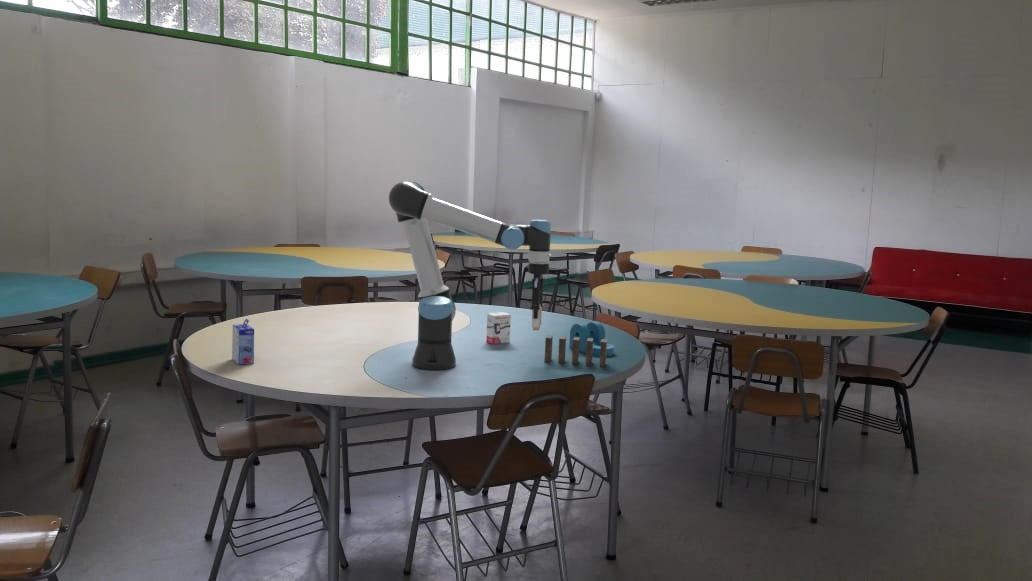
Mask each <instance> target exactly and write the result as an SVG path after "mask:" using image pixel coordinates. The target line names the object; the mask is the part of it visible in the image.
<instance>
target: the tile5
mask: <svg viewBox="0 0 1032 581" xmlns="http://www.w3.org/2000/svg"><path fill="white" fill-rule="evenodd" d="M592 354H593V338H588V339H587V349H586V353H585V366H592V364H593V355H592Z"/></svg>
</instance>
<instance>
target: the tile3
mask: <svg viewBox="0 0 1032 581" xmlns="http://www.w3.org/2000/svg"><path fill="white" fill-rule="evenodd" d="M566 342H567V336H566V335H565V336H564V335H560V336H559V341H558V356H557V357H558V358H557V363H558V364H565V361H566V348H567V347H566V346H567V345H566V344H567V343H566Z"/></svg>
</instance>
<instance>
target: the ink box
mask: <svg viewBox="0 0 1032 581" xmlns="http://www.w3.org/2000/svg"><path fill="white" fill-rule="evenodd" d="M511 318H512V315H511V314H510V313H508V312H506V311H505V312H504V311H500V312H499V311H498V312H489V313H487V314H486V341H485V342H486V343H488V344H491V345H497V344H498V343H499V344H506V343H507V344H508V343H510V342H511Z"/></svg>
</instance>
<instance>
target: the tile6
mask: <svg viewBox="0 0 1032 581" xmlns="http://www.w3.org/2000/svg"><path fill="white" fill-rule="evenodd" d="M607 344H608V339H606V338H605V339H601V348H600V356H599V367H604V368H606V365H607V364H606V363H607V362H606V361H607V356H606V349H607Z"/></svg>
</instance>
